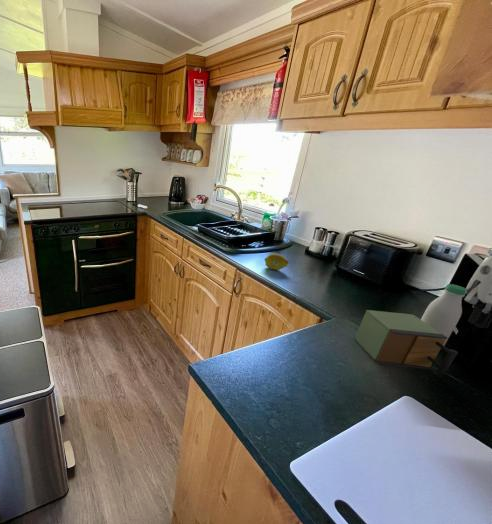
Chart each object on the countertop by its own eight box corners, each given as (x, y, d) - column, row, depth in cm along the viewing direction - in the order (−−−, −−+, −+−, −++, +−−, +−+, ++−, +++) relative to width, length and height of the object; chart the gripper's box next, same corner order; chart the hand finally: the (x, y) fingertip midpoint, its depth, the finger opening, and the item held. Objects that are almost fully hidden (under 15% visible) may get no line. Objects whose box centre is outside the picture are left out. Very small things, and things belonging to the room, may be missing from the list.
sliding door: (446, 380, 77) (464, 352, 73) (418, 377, 77) (435, 349, 74) (428, 365, 82) (444, 338, 79) (402, 363, 83) (417, 335, 79)
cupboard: (429, 369, 82) (447, 337, 78) (378, 364, 83) (394, 332, 79) (398, 343, 93) (413, 314, 89) (354, 338, 94) (366, 309, 89)
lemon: (260, 268, 145) (264, 253, 142) (265, 264, 151) (269, 249, 148) (282, 275, 139) (287, 259, 136) (287, 270, 144) (291, 255, 141)
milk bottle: (442, 351, 91) (475, 295, 83) (411, 338, 96) (439, 285, 88) (444, 341, 96) (475, 288, 88) (414, 330, 101) (441, 279, 93)
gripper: (499, 259, 61) (460, 331, 68) (573, 264, 61) (526, 336, 68) (464, 248, 68) (432, 314, 75) (531, 252, 68) (492, 318, 74)
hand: (477, 324), depth 71 cm, fingers closed
